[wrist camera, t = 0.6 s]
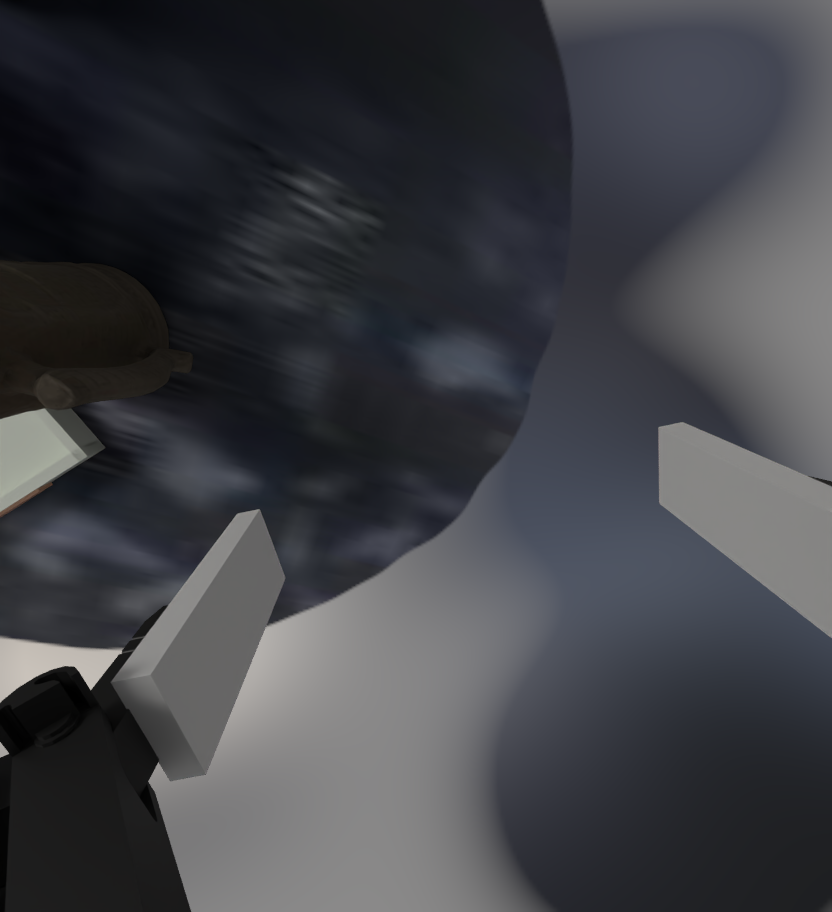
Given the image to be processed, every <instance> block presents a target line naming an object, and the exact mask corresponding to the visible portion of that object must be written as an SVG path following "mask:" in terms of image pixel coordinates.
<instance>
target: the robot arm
mask: <svg viewBox="0 0 832 912" xmlns="http://www.w3.org/2000/svg"><path fill="white" fill-rule="evenodd" d="M659 504H661V505H662V506H663V507H664V508H666V509H667V510H669V511H670V512H671V513H672V514H673V515H675V516H676V517H677V518H679V519H680V520H681V521H682V522H684V523H685V524H686V525H688V526H689V527H690V528H691V529H693V530H694V531H695V532H696V533H698V534H699V535H700V536H702V537H703V538H704V539H706V540H707V541H708V542H709V543H711V544H712V545H713V546H715V547H716V548H717V549H718V550H720V551H721V552H722V553H723V554H725V555H726V556H727V557H728V558H730V559H731V560H732V561H734V562H735V563H736V564H737V565H739V566H740V567H741V568H743V569H744V570H745V571H746V572H748V573H749V574H750V575H752V576H753V577H754V578H756V579H757V580H758V581H759V582H761V583H762V584H763V585H764V586H766V587H767V588H768V589H770V590H771V591H772V592H773V593H775V594H776V595H777V596H778V597H780V598H781V599H782V600H784V601H785V602H786V603H787V604H789V605H790V606H791V607H792V608H794V609H795V610H796V611H798V612H799V613H800V614H801V615H803V616H804V617H805V618H807V619H808V620H809V621H810V622H812V623H813V624H814V625H815V626H817V627H818V628H819V629H821V630H822V631H823V632H825V633H826V634H827V635H828V636H829V637H831V638H832V482H831V481H827V480H823V479H819V478H814V477H810V476H806V475H804V474H801V473H799V472H797V471H794V470H792V469H790V468H787V467H785V466H783V465H780V464H778V463H776V462H773V461H771V460H769V459H767V458H764V457H762V456H759V455H757V454H755V453H753V452H750V451H748V450H746V449H743V448H741V447H739V446H737V445H734V444H732V443H730V442H727V441H725V440H723V439H720V438H718V437H716V436H713V435H711V434H709V433H706V432H704V431H702V430H699V429H697V428H695V427H693V426H690V425H688V424H686V423H683V422H681V423H676V424H671V425H667V426H662V427H659ZM284 580H285V576H284V573H283V570H282V568H281V565H280V562H279V560H278V557H277V554H276V551H275V549H274V546H273V543H272V541H271V538H270V535H269V533H268V530H267V527H266V525H265V522H264V519H263V517H262V514H261V511H260V509H258V510H253V511H248V512H243V513H239V514H237V515H236V516H235V517H234V519H233V520H232V521H231V523H230V524H229V525H228V527H227V528H226V529H225V531H224V532H223V533H222V535H221V536H220V537H219V539H218V540H217V541H216V543H215V544H214V545H213V547H212V548H211V549H210V551H209V552H208V553H207V555H206V556H205V557H204V559H203V560H202V561H201V563H200V564H199V565H198V567H197V568H196V569H195V571H194V572H193V573H192V575H191V576H190V577H189V579H188V580H187V581H186V583H185V584H184V585H183V587H182V588H181V589H180V591H179V592H178V593H177V595H176V596H175V597H174V599H173V600H172V601H171V603H170V604H169V605H167V606H163V607H162V608H161V609H159V610H158V611H157V612H156V613H155V614H153V615H152V616H151V617H150V618H149V619H147V620H146V621H145V622H144V623H143V625H142V626H141V627H140V629H139V630H138V631H137V632H136V634H135V635H134V636H133V637H132V638H133V640H131V641H129V643H128V644H127V645H126V646H125V648H124V649H123V650H122V654H120V655H118V657H117V658H116V659H115V660H114V662H113V663H112V664H111V666H110V667H109V668H108V669H107V671H106V672H105V673H104V674H103V676H102V677H101V678H100V679H99V681H98V682H97V683H96V685H95V686H94V687H93V689H92V690H90V689H89V687H88V686H87V684H86V682H85V681H84V679H83V678H82V676H81V674H80V673H79V671H78V670H77V669H76V668H75V667H68V666H64V667H61V668H57V669H53V670H50V671H48V672H46V673H43V674H41V675H39V676H37V677H35V678H33V679H32V680H30V681H29V682H27V683H26V684H24V685H22V686H21V687H19V688H18V689H16V690H15V691H14V692H13V693H11V694H10V695H9V696H8V697H6V698H5V699H4V700H3V701H2V702H1V703H0V742H1V743H2V745H3V746H4V747H5V748H6V750H7V751H8V752H9V754H8V755H6V756H3V757H1V758H0V912H191V910H190V907H189V903H188V900H187V897H186V894H185V890H184V887H183V883H182V880H181V877H180V874H179V870H178V867H177V864H176V860H175V857H174V854H173V851H172V848H171V844H170V841H169V837H168V834H167V831H166V827H165V824H164V821H163V818H162V815H161V811H160V808H159V804H158V801H157V798H156V794H155V792H154V790H153V789H152V788H151V786H150V784H149V782H148V780H149V779H150V777H151V775H152V773H153V771H154V769H155V767H156V765H157V763H158V762H159V764H160V765H161V767H162V769H163V770H164V772H165V773H166V775H167V777H168V778H169V780H170V781H173V780H178V779H184V778H190V777H194V776H201V775H206V773H207V770H208V768H209V766H210V763H211V760H212V758H213V756H214V753H215V751H216V748H217V746H218V743H219V741H220V738H221V736H222V733H223V731H224V729H225V726H226V724H227V721H228V718H229V716H230V714H231V711H232V708H233V706H234V704H235V701H236V699H237V696H238V694H239V691H240V689H241V687H242V684H243V682H244V679H245V677H246V674H247V671H248V669H249V667H250V664H251V662H252V659H253V657H254V654H255V652H256V649H257V647H258V645H259V642H260V640H261V637H262V635H263V632H264V630H265V627H266V625H267V622H268V620H269V617H270V615H271V612H272V610H273V608H274V605H275V603H276V600H277V598H278V595H279V593H280V590H281V588H282V585H283V583H284Z"/></svg>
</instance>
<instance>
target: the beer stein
mask: <svg viewBox="0 0 832 912" xmlns="http://www.w3.org/2000/svg"><path fill="white" fill-rule="evenodd" d="M192 363H193V355H192V354H191V353H190V352H184V351H179V350H174V349H169V333H168V328H167V324H166V320H165V318H164V316H163V314H162V311H161V309H160V307H159V305H158V303H157V302H156V300H155V299H154V298H153V296H152V295H151V294H150V292H149V291H148V290H147V289H146V288H145V287H144V286H143V285H142V284H141V283H139V282H138V281H137V280H136V279H135V278H133V277H131V276H130V275H128V274H127V273H125V272H123V271H121V270H119V269H117V268H114V267H110V266H107V265H103V264H95V263H80V264H75V263H71V262H50V263H45V262H17V261H5V260H0V419H3V418H7V417H10V416H14V415H18V414H21V413H25V412H29V411H37V410H40V409H44V408H46V409H52V410H64V409H70V408H73V407H76V406H79V405H82V404H86V403H92V402H98V401H106V400H115V399H123V398H130V397H138V396H142V395H145V394H149V393H152V392H154V391H155V390H157V389H159V388H160V387H162V386H164V385H165V384H166V383H167V382H168V380H169V377H170V374H171V372H181V373H189V372H190V371H191V369H192Z"/></svg>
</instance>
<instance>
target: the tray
mask: <svg viewBox="0 0 832 912" xmlns="http://www.w3.org/2000/svg"><path fill="white" fill-rule="evenodd" d="M103 449H105V446H104V445H103V444H102V443H101V442H100V441H99V439H98V438H97V437H96V436H95V435H94V434H93V433H92V431H91V430H90V429H89V428H88V427H87V426H86V425H85V423H84V422H83V421H82V420H81V419H80V418H79V417H78V415H77V414H76V413H75V412H74V411H73V410H72V409H71V408H70V409H64V410H52V409H46V408H44V409H40V410H37V411H29V412H25V413H21V414H18V415H14V416H10V417H7V418H3V419H0V518H1V517H3V516H4V515H6V514H7V513H9V512H10V511H12V510H14V509H15V508H17V507H18V506H20V505H22V504H23V503H25V502H26V501H28V500H29V499H31V498H33V497H34V496H36V495H37V494H39V493H41V492H42V491H44V490H45V489H47V488H48V487H50V486H52V485H53V484H52V483H51V482H52V481H54V480H56V479H57V478H59V477H60V476H62V475H64V474H65V473H67V472H68V471H70V470H71V469H73V468H75V467H76V466H78V465H79V464H81V463H82V462H84V461H86V460H87V459H89V458H90V457H92V456H94V455H95V454H97V453H98V452H100V451H101V450H103Z"/></svg>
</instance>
